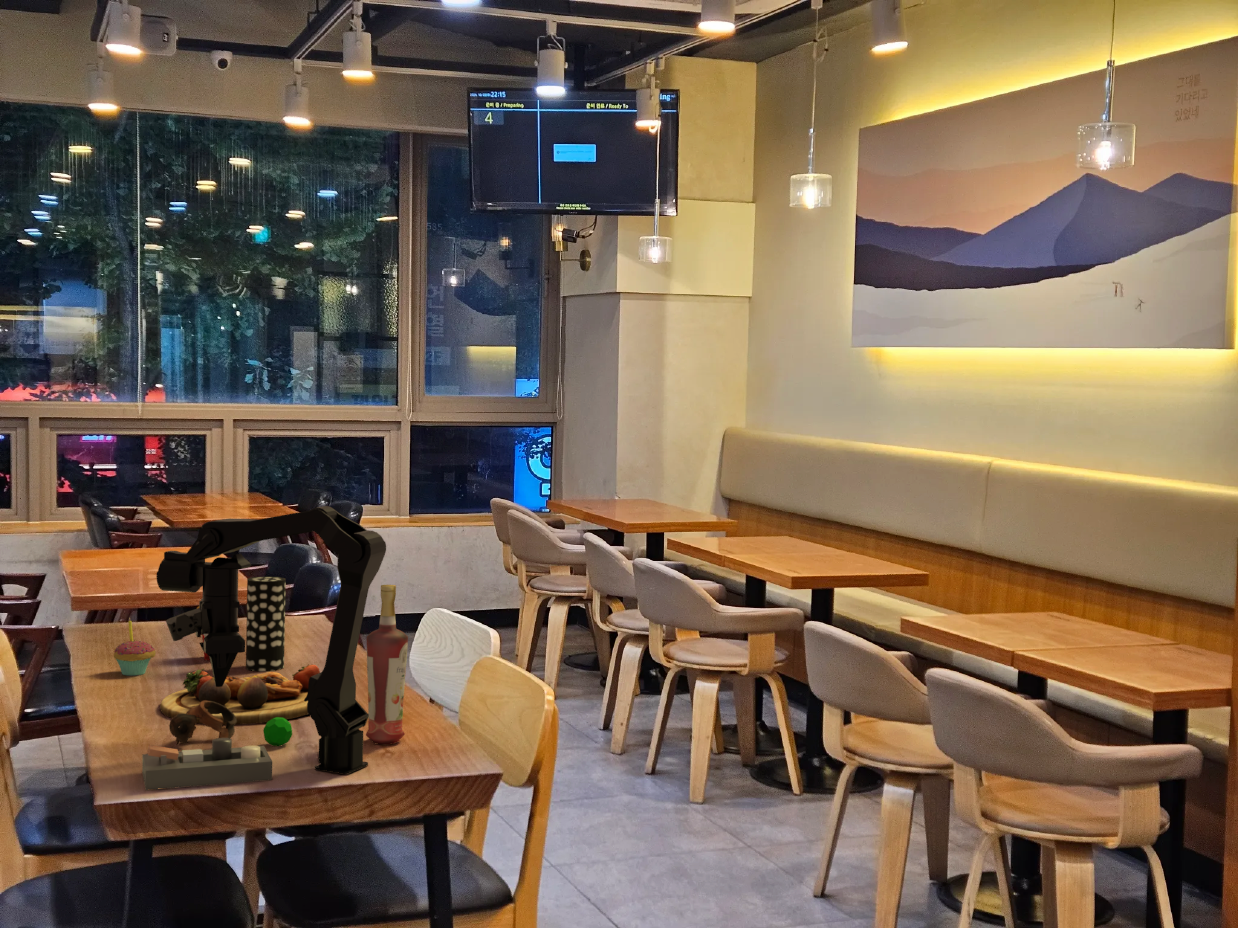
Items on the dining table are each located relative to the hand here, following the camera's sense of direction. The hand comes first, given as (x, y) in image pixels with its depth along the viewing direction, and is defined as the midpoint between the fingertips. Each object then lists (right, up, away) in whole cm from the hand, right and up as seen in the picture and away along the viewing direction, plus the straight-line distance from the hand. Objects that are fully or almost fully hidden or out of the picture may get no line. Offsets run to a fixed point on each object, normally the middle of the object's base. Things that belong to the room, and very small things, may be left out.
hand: (218, 686), depth 222 cm
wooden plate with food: (-6, -11, +38) cm, 40 cm away
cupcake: (-38, -8, +64) cm, 75 cm away
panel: (+1, -13, -11) cm, 17 cm away
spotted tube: (-12, -9, +75) cm, 76 cm away
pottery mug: (-6, -12, +9) cm, 16 cm away
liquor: (+26, -12, +14) cm, 32 cm away
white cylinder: (+8, -12, -8) cm, 16 cm away
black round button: (+4, -10, -10) cm, 15 cm away
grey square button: (-1, -11, -12) cm, 17 cm away
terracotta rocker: (-5, -8, -14) cm, 17 cm away
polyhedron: (+7, -12, +9) cm, 17 cm away
